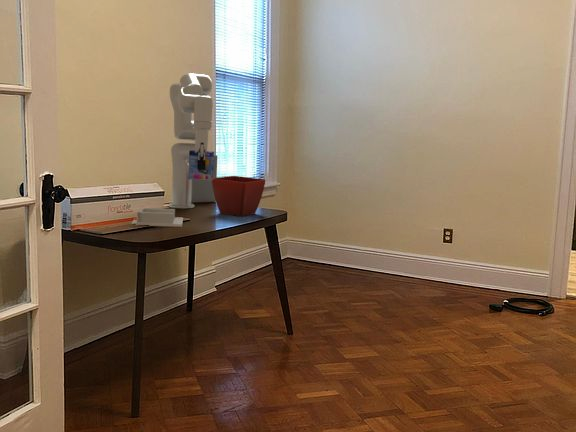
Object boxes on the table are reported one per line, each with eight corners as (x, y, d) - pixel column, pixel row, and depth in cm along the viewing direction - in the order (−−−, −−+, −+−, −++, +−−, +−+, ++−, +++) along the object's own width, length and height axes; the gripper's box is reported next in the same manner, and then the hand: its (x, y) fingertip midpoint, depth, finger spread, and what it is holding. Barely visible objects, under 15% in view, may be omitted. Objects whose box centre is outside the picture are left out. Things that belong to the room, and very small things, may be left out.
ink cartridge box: (187, 179, 243) (188, 144, 241) (191, 178, 249) (192, 144, 246) (210, 181, 242) (212, 146, 240) (213, 179, 248) (215, 145, 245)
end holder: (136, 218, 250) (136, 207, 249) (183, 219, 253) (183, 208, 252) (131, 225, 235) (131, 213, 234) (181, 226, 238) (182, 214, 237)
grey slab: (211, 200, 315) (212, 154, 311) (216, 202, 310) (217, 155, 306) (187, 201, 308) (188, 154, 304) (192, 203, 303) (193, 155, 299)
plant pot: (243, 218, 265) (244, 182, 262) (209, 213, 274) (210, 178, 271) (264, 214, 281) (266, 179, 278) (232, 209, 290) (233, 175, 287)
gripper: (193, 125, 249) (192, 166, 252) (193, 126, 232) (192, 170, 236) (210, 126, 251) (209, 167, 254) (212, 127, 234) (210, 171, 237)
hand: (201, 168), depth 245 cm, fingers closed on ink cartridge box, 6 cm apart
